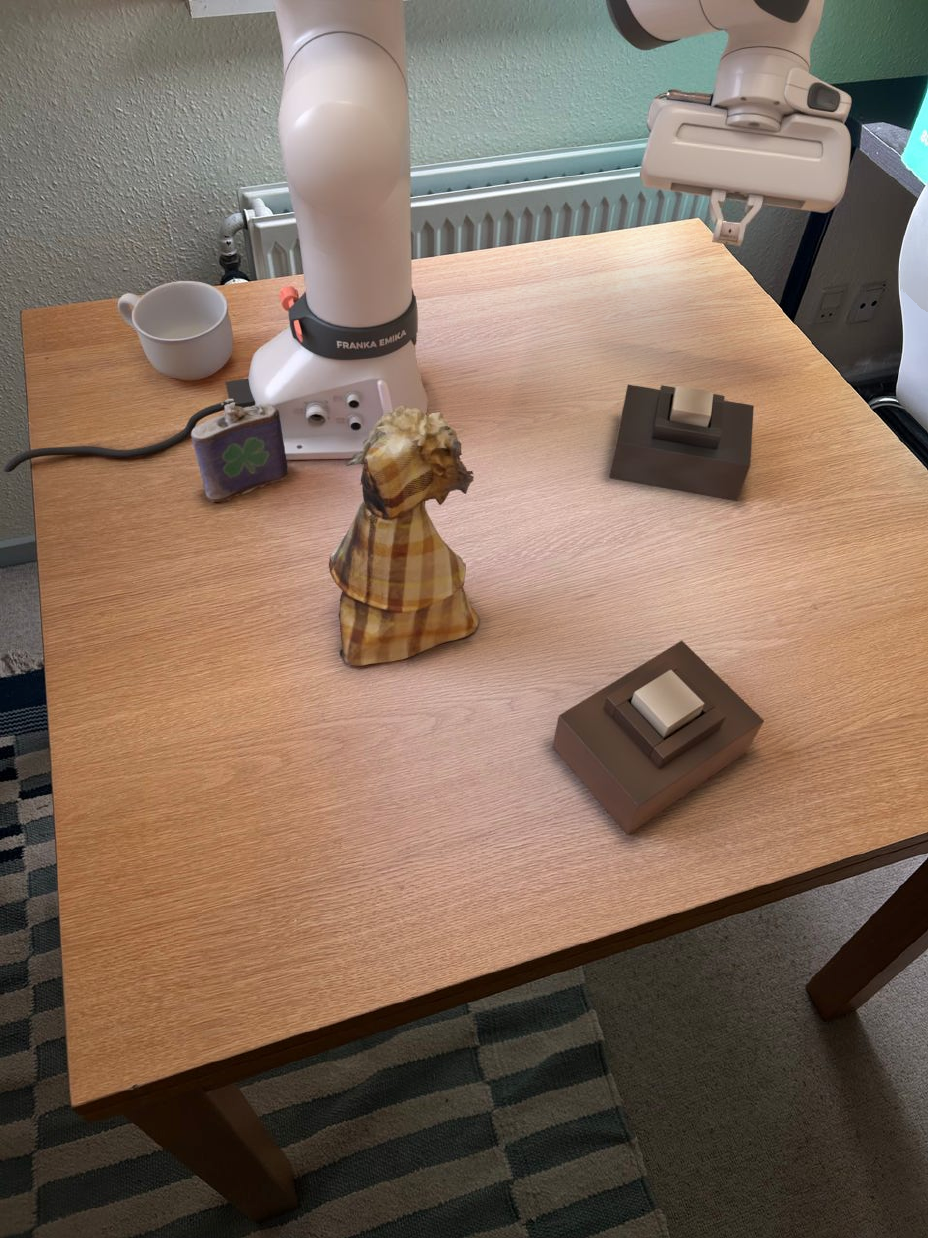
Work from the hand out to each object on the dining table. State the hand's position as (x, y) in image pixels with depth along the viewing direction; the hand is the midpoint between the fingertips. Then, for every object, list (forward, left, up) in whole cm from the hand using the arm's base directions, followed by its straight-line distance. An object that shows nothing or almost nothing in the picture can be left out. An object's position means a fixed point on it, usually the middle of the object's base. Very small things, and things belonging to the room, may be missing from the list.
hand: (726, 242), depth 93 cm
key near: (-22, -44, -13) cm, 51 cm away
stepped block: (-5, -10, -20) cm, 23 cm away
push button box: (-22, -44, -20) cm, 53 cm away
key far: (-5, -10, -13) cm, 17 cm away
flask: (-52, -3, -20) cm, 56 cm away
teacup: (-57, +20, -20) cm, 64 cm away
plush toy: (-40, -24, -20) cm, 51 cm away
